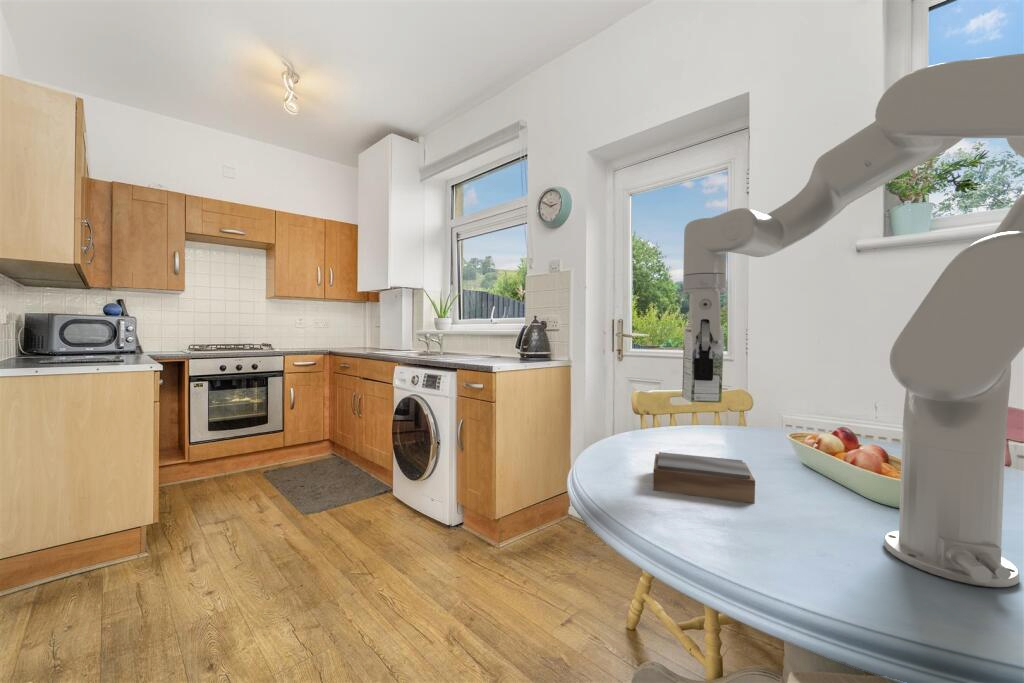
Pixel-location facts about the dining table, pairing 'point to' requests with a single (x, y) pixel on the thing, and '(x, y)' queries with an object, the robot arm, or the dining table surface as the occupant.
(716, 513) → the dining table surface
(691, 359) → the syrup box
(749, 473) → the block
